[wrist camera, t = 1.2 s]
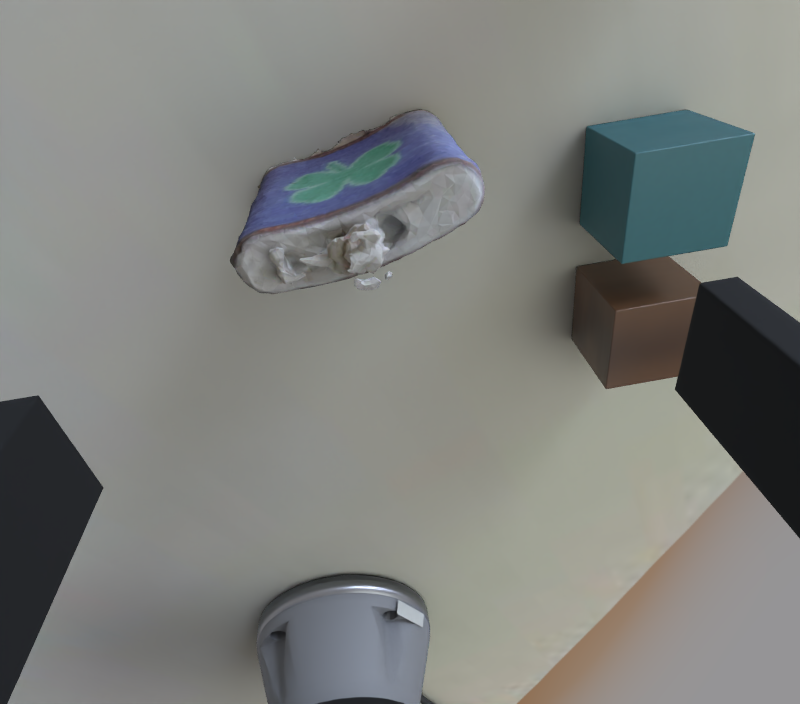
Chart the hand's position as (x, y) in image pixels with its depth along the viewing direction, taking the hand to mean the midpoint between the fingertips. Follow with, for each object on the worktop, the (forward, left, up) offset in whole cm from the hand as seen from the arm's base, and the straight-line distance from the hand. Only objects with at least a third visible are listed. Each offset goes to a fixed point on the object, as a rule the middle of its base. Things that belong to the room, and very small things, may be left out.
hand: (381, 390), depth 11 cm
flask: (0, 0, -18) cm, 18 cm away
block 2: (-10, -14, -17) cm, 24 cm away
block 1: (-3, -14, -17) cm, 22 cm away
